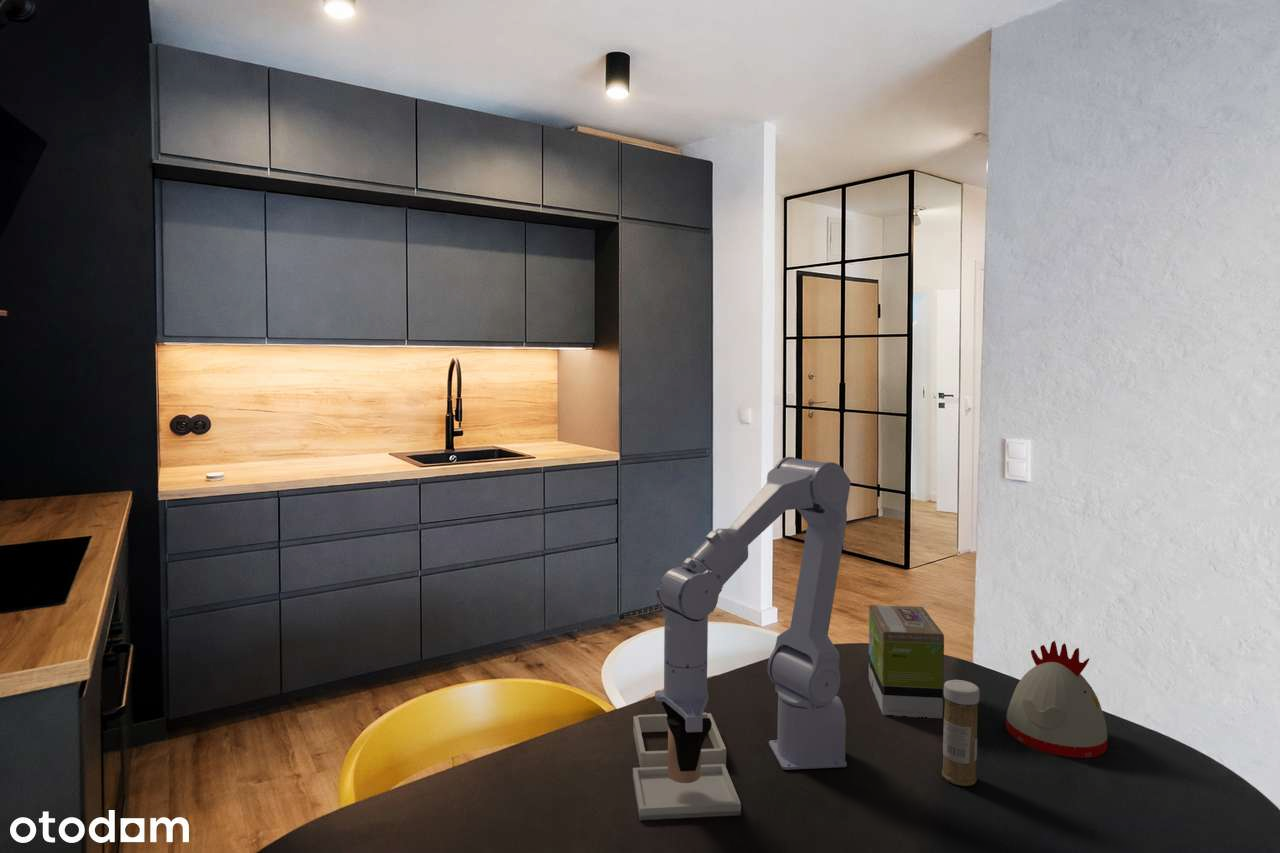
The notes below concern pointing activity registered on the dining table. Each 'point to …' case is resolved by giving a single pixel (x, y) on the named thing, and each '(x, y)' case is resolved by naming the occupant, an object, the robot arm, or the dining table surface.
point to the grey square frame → (661, 757)
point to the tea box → (906, 661)
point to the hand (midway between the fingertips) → (684, 760)
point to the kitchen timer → (1057, 707)
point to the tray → (685, 794)
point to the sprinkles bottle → (960, 732)
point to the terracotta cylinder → (673, 765)
